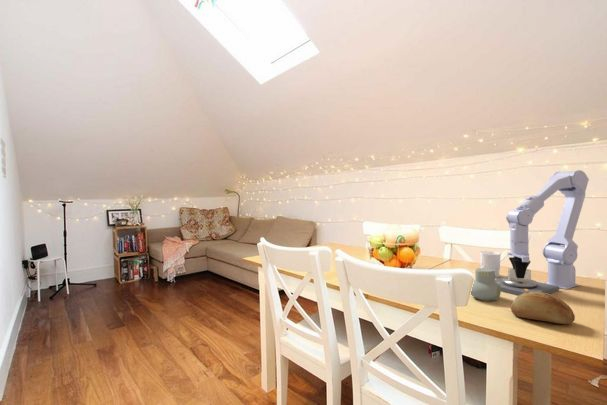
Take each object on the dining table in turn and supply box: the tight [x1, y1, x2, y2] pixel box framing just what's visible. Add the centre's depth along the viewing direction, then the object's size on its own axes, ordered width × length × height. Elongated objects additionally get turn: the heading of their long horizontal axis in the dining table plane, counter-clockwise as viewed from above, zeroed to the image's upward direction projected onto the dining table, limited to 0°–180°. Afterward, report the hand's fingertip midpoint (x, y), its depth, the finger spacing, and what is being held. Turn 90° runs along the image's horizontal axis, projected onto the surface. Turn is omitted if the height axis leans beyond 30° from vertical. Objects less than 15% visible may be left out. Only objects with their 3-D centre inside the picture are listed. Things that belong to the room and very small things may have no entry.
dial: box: [502, 267, 538, 288], centre depth 125 cm, size 11×11×6 cm
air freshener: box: [470, 267, 502, 302], centre depth 115 cm, size 11×8×10 cm
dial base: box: [495, 275, 560, 296], centre depth 125 cm, size 18×18×2 cm
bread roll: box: [510, 292, 576, 325], centre depth 95 cm, size 10×15×8 cm, turn 53°
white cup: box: [479, 250, 502, 278], centre depth 144 cm, size 8×8×10 cm
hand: (519, 277), depth 125 cm, fingers closed on dial, 2 cm apart
